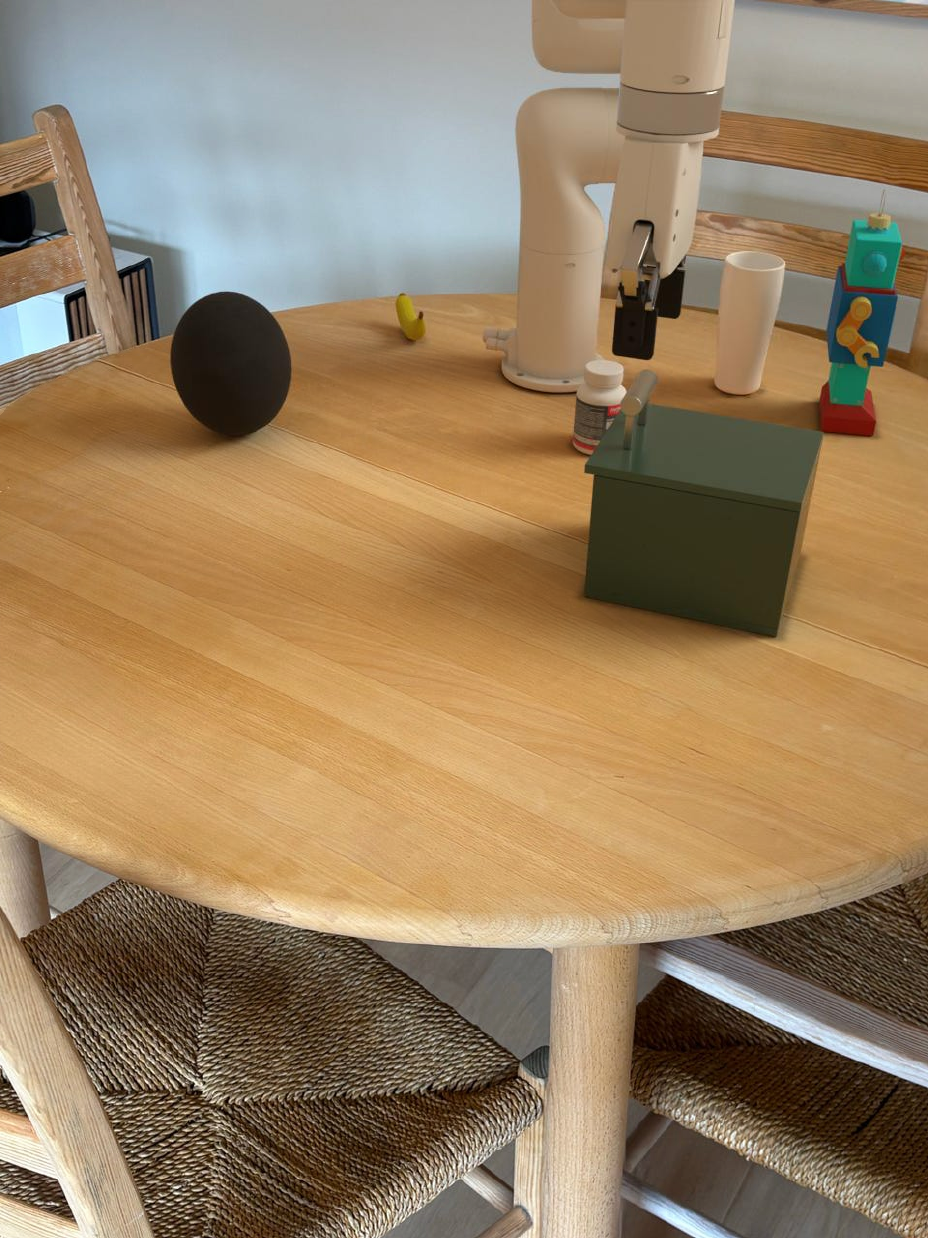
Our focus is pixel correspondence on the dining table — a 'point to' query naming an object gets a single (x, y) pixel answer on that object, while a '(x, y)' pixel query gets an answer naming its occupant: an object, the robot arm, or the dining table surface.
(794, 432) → the lid
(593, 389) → the pill bottle
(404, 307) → the fruit
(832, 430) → the toy robot
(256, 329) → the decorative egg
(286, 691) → the dining table surface
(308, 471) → the dining table surface
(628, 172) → the robot arm
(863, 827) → the dining table surface
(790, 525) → the box
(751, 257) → the drinking glass
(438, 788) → the dining table surface
